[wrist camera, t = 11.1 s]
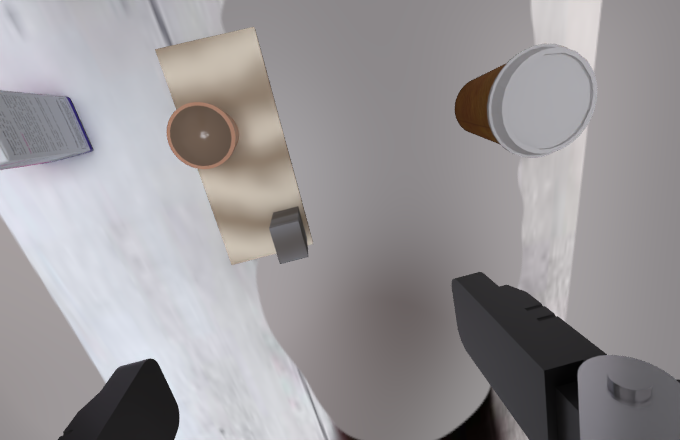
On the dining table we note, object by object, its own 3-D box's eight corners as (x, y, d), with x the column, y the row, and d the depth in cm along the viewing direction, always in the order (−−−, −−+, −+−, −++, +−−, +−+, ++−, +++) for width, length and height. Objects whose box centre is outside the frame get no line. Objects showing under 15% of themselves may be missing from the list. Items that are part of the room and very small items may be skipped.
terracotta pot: (177, 111, 37) (156, 110, 31) (233, 97, 37) (222, 95, 31) (197, 167, 38) (180, 175, 33) (250, 154, 39) (243, 160, 33)
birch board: (158, 51, 36) (126, 36, 29) (255, 29, 36) (245, 9, 29) (233, 261, 43) (221, 288, 36) (312, 241, 43) (315, 264, 37)
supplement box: (69, 94, 36) (-30, 85, 25) (95, 151, 38) (12, 165, 27) (12, 108, 36) (-112, 105, 25) (41, 164, 38) (-64, 184, 27)
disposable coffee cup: (522, 59, 40) (610, 37, 29) (515, 144, 43) (593, 155, 32) (441, 64, 39) (500, 43, 28) (440, 150, 42) (493, 163, 31)
